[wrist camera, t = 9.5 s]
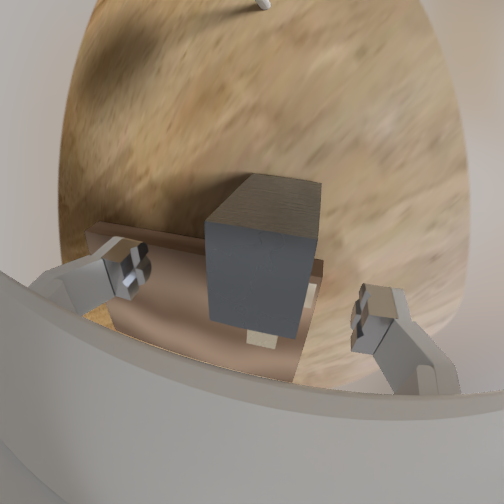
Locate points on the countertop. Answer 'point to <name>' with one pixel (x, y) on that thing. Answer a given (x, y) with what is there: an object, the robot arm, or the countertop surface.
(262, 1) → the lollipop
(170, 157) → the countertop surface
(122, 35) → the countertop surface
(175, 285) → the board
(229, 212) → the upright grey metal block
